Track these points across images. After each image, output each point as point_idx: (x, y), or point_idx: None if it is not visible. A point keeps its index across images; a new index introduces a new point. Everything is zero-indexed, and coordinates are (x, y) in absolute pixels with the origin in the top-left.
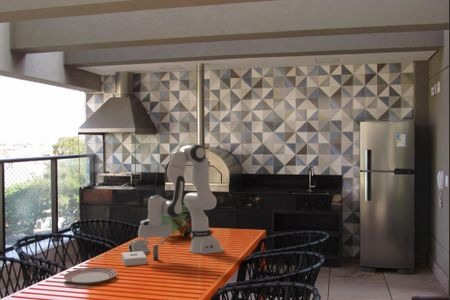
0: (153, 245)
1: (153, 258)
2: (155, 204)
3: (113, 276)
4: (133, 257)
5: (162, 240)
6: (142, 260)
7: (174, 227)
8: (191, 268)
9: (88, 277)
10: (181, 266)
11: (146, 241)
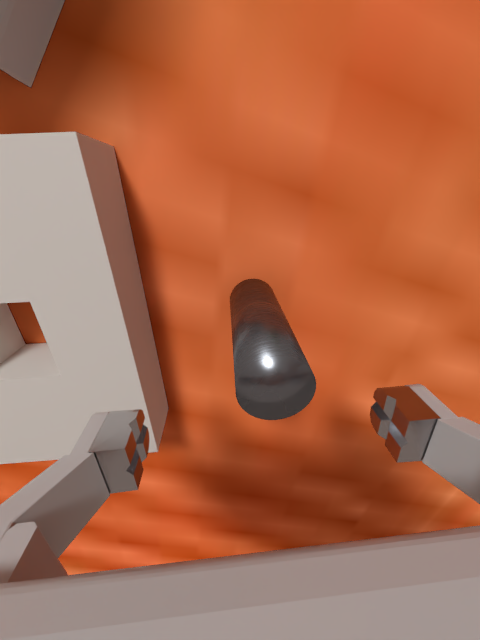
0: (238, 401)
1: (230, 307)
2: None
3: None
4: (33, 438)
5: (441, 432)
6: None
7: None
8: (394, 519)
9: None
10: (365, 487)
11: (91, 506)
